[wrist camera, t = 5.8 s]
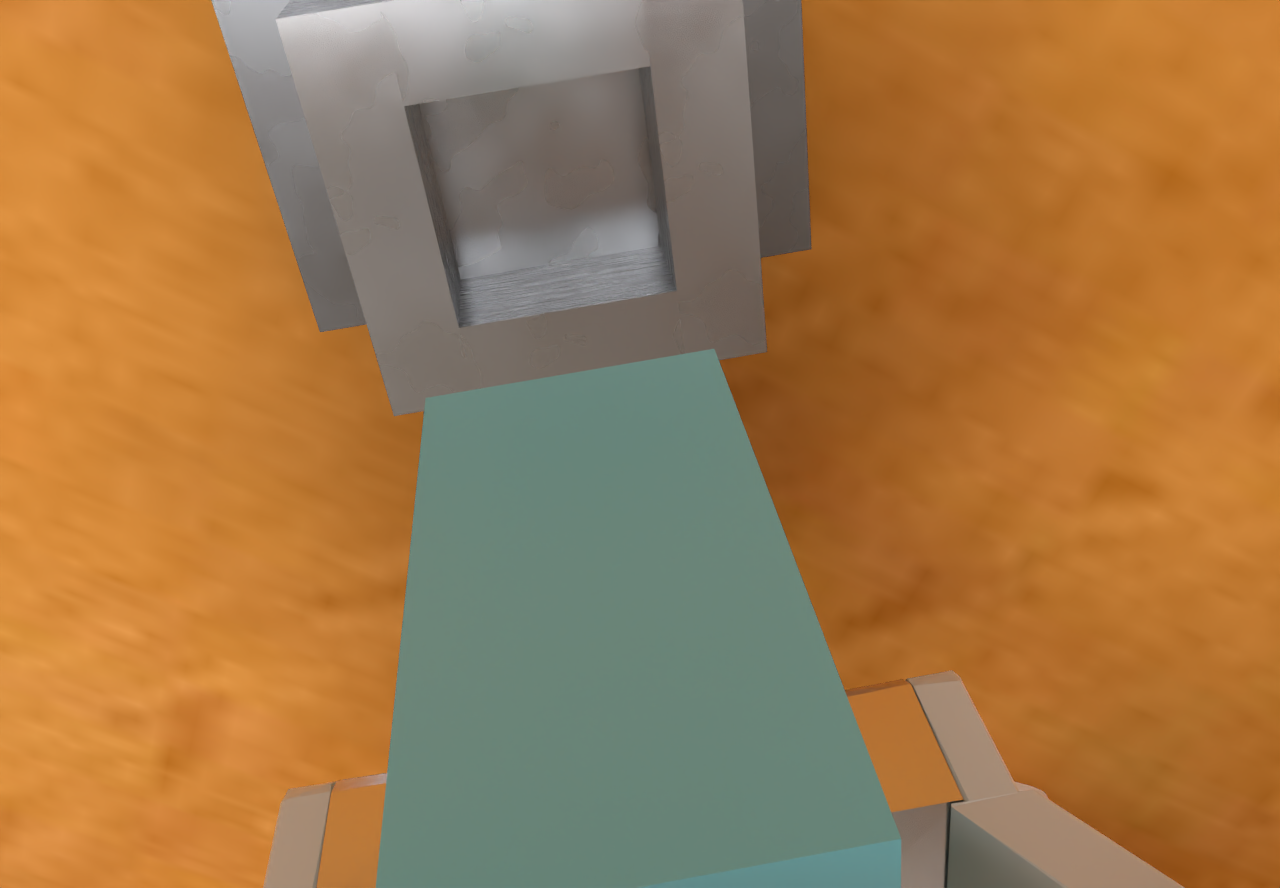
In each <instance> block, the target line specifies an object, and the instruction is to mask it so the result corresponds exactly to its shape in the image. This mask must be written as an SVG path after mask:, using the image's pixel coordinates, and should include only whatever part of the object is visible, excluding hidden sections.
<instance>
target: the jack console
mask: <svg viewBox="0 0 1280 888" xmlns="http://www.w3.org/2000/svg"><path fill="white" fill-rule="evenodd" d="M211 1H212V4H213V7H214V10H215V13H216V16H217V19H218V22H219V25H220V28H221V31H222V34H223V37H224V40H225V43H226V46H227V50H228V53H229V56H230V59H231V62H232V65H233V68H234V71H235V74H236V77H237V80H238V83H239V86H240V89H241V92H242V95H243V98H244V101H245V104H246V108H247V111H248V114H249V117H250V120H251V123H252V126H253V129H254V132H255V135H256V138H257V141H258V144H259V147H260V150H261V153H262V156H263V159H264V162H265V166H266V169H267V172H268V175H269V178H270V181H271V184H272V187H273V190H274V193H275V196H276V199H277V202H278V205H279V208H280V211H281V214H282V217H283V220H284V224H285V227H286V230H287V233H288V236H289V239H290V242H291V245H292V248H293V251H294V254H295V257H296V260H297V263H298V266H299V269H300V272H301V275H302V278H303V282H304V285H305V288H306V291H307V294H308V297H309V300H310V303H311V306H312V309H313V312H314V315H315V318H316V321H317V324H318V327H319V330H320V332H324V331H330V330H336V329H342V328H348V327H354V326H359V325H365V324H367V327H368V331H369V334H370V337H371V341H372V344H373V347H374V351H375V354H376V357H377V361H378V364H379V367H380V371H381V374H382V377H383V381H384V384H385V387H386V391H387V394H388V397H389V401H390V404H391V407H392V411H393V414H394V416H397V415H403V414H409V413H415V412H421V411H424V408H425V398H428V397H434V396H440V395H446V394H452V393H458V392H463V391H469V390H475V389H481V388H487V387H493V386H499V385H504V384H510V383H516V382H522V381H528V380H534V379H540V378H546V377H551V376H557V375H563V374H569V373H575V372H581V371H587V370H592V369H598V368H604V367H610V366H616V365H622V364H628V363H633V362H639V361H645V360H651V359H657V358H663V357H669V356H674V355H680V354H686V353H692V352H698V351H704V350H710V349H715V352H716V354H717V357H718V360H723V359H729V358H735V357H741V356H746V355H752V354H758V353H764V352H767V343H766V329H765V314H764V300H763V285H762V271H761V258H762V257H768V256H774V255H780V254H786V253H792V252H797V251H803V250H809V249H811V228H810V203H809V179H808V154H807V130H806V105H805V81H804V56H803V32H802V8H801V0H211Z"/></svg>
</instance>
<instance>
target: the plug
mask: <svg viewBox="0 0 1280 888" xmlns="http://www.w3.org/2000/svg"><path fill="white" fill-rule="evenodd" d="M376 888H901V837H900V834H899V831H898V829H897V826H896V824H895V821H894V818H893V816H892V813H891V810H890V808H889V805H888V803H887V800H886V797H885V795H884V792H883V789H882V787H881V784H880V782H879V779H878V776H877V774H876V771H875V768H874V766H873V763H872V761H871V758H870V755H869V753H868V750H867V748H866V745H865V742H864V740H863V737H862V734H861V732H860V729H859V727H858V724H857V721H856V719H855V716H854V713H853V711H852V708H851V706H850V703H849V700H848V698H847V695H846V692H845V690H844V687H843V685H842V682H841V679H840V677H839V674H838V672H837V669H836V666H835V664H834V661H833V658H832V656H831V653H830V651H829V648H828V645H827V643H826V640H825V637H824V635H823V632H822V630H821V627H820V624H819V622H818V619H817V616H816V614H815V611H814V609H813V606H812V603H811V601H810V598H809V596H808V593H807V590H806V588H805V585H804V582H803V580H802V577H801V575H800V572H799V569H798V567H797V564H796V561H795V559H794V556H793V554H792V551H791V548H790V546H789V543H788V540H787V538H786V535H785V533H784V530H783V527H782V525H781V522H780V520H779V517H778V514H777V512H776V509H775V506H774V504H773V501H772V499H771V496H770V493H769V491H768V488H767V485H766V483H765V480H764V478H763V475H762V472H761V470H760V467H759V464H758V462H757V459H756V457H755V454H754V451H753V449H752V446H751V444H750V441H749V438H748V436H747V433H746V430H745V428H744V425H743V423H742V420H741V417H740V415H739V412H738V409H737V407H736V404H735V402H734V399H733V396H732V394H731V391H730V388H729V386H728V383H727V381H726V378H725V375H724V373H723V370H722V368H721V365H720V362H719V360H718V357H717V354H716V352H715V349H710V350H704V351H698V352H692V353H686V354H680V355H674V356H669V357H663V358H657V359H651V360H645V361H639V362H633V363H628V364H622V365H616V366H610V367H604V368H598V369H592V370H587V371H581V372H575V373H569V374H563V375H557V376H551V377H546V378H540V379H534V380H528V381H522V382H516V383H510V384H504V385H499V386H493V387H487V388H481V389H475V390H469V391H463V392H458V393H452V394H446V395H440V396H434V397H428V398H425V408H424V418H423V428H422V438H421V447H420V457H419V467H418V477H417V487H416V496H415V506H414V516H413V526H412V536H411V545H410V555H409V565H408V575H407V585H406V594H405V604H404V614H403V624H402V633H401V643H400V653H399V663H398V673H397V682H396V692H395V702H394V712H393V722H392V731H391V741H390V751H389V761H388V771H387V780H386V790H385V800H384V810H383V820H382V829H381V839H380V849H379V859H378V869H377V878H376Z"/></svg>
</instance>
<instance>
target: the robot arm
mask: <svg viewBox="0 0 1280 888" xmlns="http://www.w3.org/2000/svg"><path fill="white" fill-rule="evenodd" d="M845 692H846V695H847V698H848V700H849V703H850V706H851V708H852V711H853V713H854V716H855V719H856V721H857V724H858V727H859V729H860V732H861V734H862V737H863V740H864V742H865V745H866V748H867V750H868V753H869V755H870V758H871V761H872V763H873V766H874V768H875V771H876V774H877V776H878V779H879V782H880V784H881V787H882V789H883V792H884V795H885V797H886V800H887V803H888V805H889V808H890V810H891V813H892V816H893V818H894V821H895V824H896V826H897V829H898V831H899V834H900V837H901V888H1185V887H1183V886H1181V885H1180V884H1178V883H1177V882H1175V881H1174V880H1172V879H1171V878H1169V877H1168V876H1166V875H1165V874H1163V873H1161V872H1160V871H1158V870H1157V869H1155V868H1154V867H1152V866H1151V865H1149V864H1148V863H1146V862H1145V861H1143V860H1141V859H1140V858H1138V857H1137V856H1135V855H1134V854H1132V853H1131V852H1129V851H1128V850H1126V849H1125V848H1123V847H1121V846H1120V845H1118V844H1117V843H1115V842H1114V841H1112V840H1111V839H1109V838H1108V837H1106V836H1105V835H1103V834H1101V833H1100V832H1098V831H1097V830H1095V829H1094V828H1092V827H1091V826H1089V825H1088V824H1086V823H1085V822H1083V821H1081V820H1080V819H1078V818H1077V817H1075V816H1074V815H1072V814H1071V813H1069V812H1068V811H1066V810H1065V809H1063V808H1061V807H1060V806H1058V805H1057V804H1055V803H1054V802H1052V801H1051V800H1049V799H1048V796H1047V795H1046V793H1045V792H1043V791H1042V790H1040V789H1037V788H1035V787H1032V786H1029V785H1026V784H1022V783H1018V782H1014V780H1013V778H1012V776H1011V774H1010V772H1009V770H1008V769H1007V767H1006V765H1005V763H1004V761H1003V759H1002V757H1001V755H1000V753H999V751H998V749H997V747H996V745H995V743H994V742H993V740H992V738H991V736H990V734H989V732H988V730H987V728H986V726H985V724H984V722H983V720H982V718H981V717H980V715H979V713H978V711H977V709H976V707H975V705H974V703H973V701H972V699H971V697H970V695H969V693H968V691H967V690H966V688H965V686H964V684H963V682H962V680H961V678H960V676H958V675H957V674H956V673H955V672H953V671H946V672H941V673H936V674H930V675H925V676H919V677H914V678H908V679H906V680H903V679H900V680H895V681H890V682H885V683H880V684H874V685H869V686H864V687H859V688H854V689H848V690H845ZM386 780H387V773H383V774H377V775H370V776H364V777H357V778H351V779H344V780H338V781H335V782H329V783H323V784H316V785H310V786H304V787H298V788H291V789H289V790H288V791H287V793H286V795H285V797H284V798H283V800H282V802H281V804H280V809H279V814H278V819H277V823H276V828H275V833H274V838H273V843H272V848H271V852H270V857H269V862H268V867H267V872H266V877H265V882H264V886H263V888H376V878H377V869H378V859H379V849H380V839H381V829H382V820H383V810H384V800H385V790H386Z"/></svg>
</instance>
